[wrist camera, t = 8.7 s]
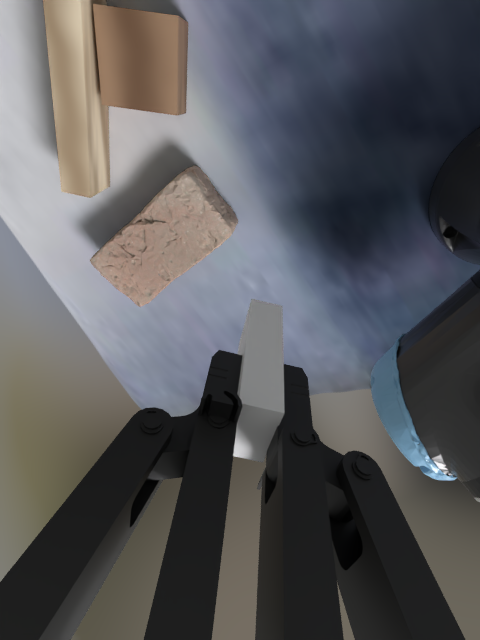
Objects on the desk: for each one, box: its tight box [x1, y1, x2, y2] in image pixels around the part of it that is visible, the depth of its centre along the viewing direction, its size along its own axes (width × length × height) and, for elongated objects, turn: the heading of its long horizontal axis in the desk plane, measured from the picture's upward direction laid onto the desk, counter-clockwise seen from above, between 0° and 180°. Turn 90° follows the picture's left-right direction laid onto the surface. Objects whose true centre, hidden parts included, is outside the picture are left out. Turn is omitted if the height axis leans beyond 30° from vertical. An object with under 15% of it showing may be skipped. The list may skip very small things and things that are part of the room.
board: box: [43, 0, 110, 198], centre depth 32 cm, size 3×21×5 cm, turn 169°
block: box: [93, 4, 188, 115], centre depth 32 cm, size 7×7×4 cm
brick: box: [90, 166, 238, 307], centre depth 41 cm, size 17×8×5 cm, turn 130°
